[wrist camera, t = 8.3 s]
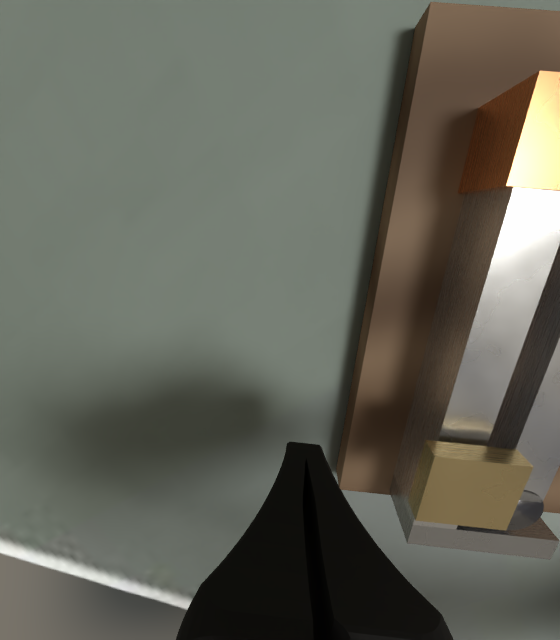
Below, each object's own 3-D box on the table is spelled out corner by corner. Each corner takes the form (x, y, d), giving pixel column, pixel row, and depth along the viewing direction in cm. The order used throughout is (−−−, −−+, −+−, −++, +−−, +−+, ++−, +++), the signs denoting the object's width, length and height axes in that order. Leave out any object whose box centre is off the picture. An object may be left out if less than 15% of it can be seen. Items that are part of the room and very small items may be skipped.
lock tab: (492, 510, 13) (506, 530, 12) (407, 500, 13) (415, 520, 12) (517, 449, 12) (533, 466, 11) (425, 440, 12) (434, 456, 11)
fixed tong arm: (508, 503, 17) (551, 561, 14) (384, 490, 18) (401, 544, 15) (669, 122, 11) (796, 90, 9) (478, 107, 12) (539, 70, 9)
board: (599, 497, 19) (624, 520, 17) (336, 469, 19) (339, 489, 18) (836, 58, 12) (909, 36, 10) (415, 27, 12) (430, 1, 11)
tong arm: (496, 481, 17) (536, 535, 14) (448, 476, 17) (478, 529, 14) (644, 100, 11) (761, 60, 8) (571, 94, 11) (664, 53, 8)
